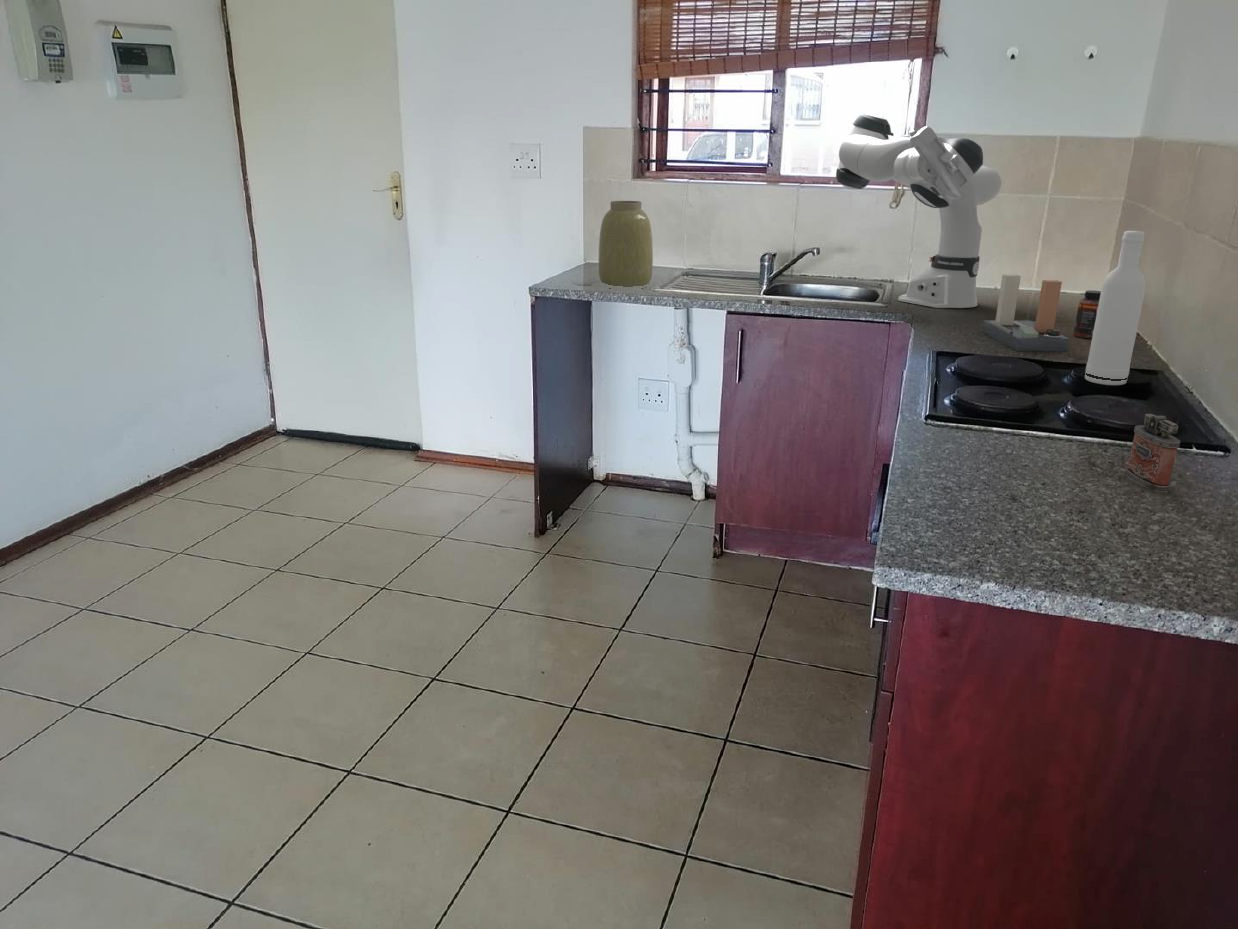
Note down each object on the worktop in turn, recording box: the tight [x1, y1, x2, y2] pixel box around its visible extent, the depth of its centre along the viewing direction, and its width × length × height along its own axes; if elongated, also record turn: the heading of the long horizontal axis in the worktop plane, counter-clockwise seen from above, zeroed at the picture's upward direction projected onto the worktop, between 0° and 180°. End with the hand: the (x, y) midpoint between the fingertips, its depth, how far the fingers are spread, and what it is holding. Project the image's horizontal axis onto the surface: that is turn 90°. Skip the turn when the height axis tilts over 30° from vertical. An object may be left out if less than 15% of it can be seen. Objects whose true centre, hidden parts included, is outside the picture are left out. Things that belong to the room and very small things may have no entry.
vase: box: [598, 200, 654, 289], centre depth 286 cm, size 17×17×27 cm
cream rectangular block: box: [994, 274, 1021, 325], centre depth 223 cm, size 2×4×12 cm
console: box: [981, 319, 1070, 352], centre depth 221 cm, size 21×12×4 cm, turn 0°
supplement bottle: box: [1073, 289, 1101, 339], centre depth 225 cm, size 6×6×11 cm
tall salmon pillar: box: [1035, 279, 1063, 332], centre depth 215 cm, size 2×4×12 cm
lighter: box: [1124, 413, 1181, 493], centre depth 132 cm, size 8×3×10 cm, turn 5°
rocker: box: [1018, 327, 1039, 338], centre depth 212 cm, size 4×3×1 cm
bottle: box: [1084, 230, 1147, 386], centre depth 182 cm, size 8×8×30 cm
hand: (957, 162), depth 215 cm, fingers closed
